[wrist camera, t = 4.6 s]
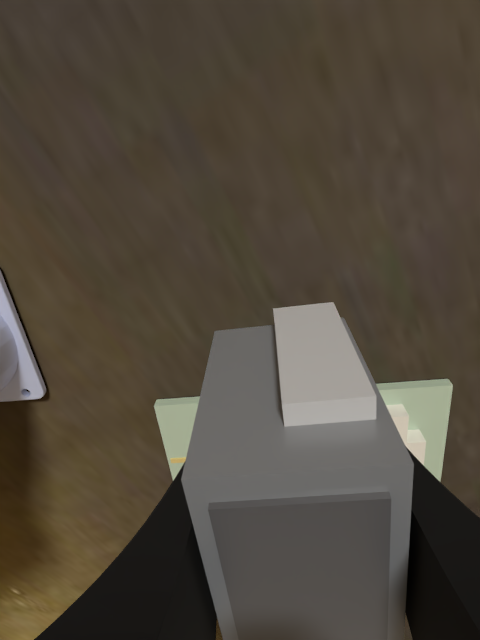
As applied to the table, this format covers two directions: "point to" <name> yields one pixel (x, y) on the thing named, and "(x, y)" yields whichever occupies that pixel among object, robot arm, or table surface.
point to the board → (400, 399)
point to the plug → (299, 485)
